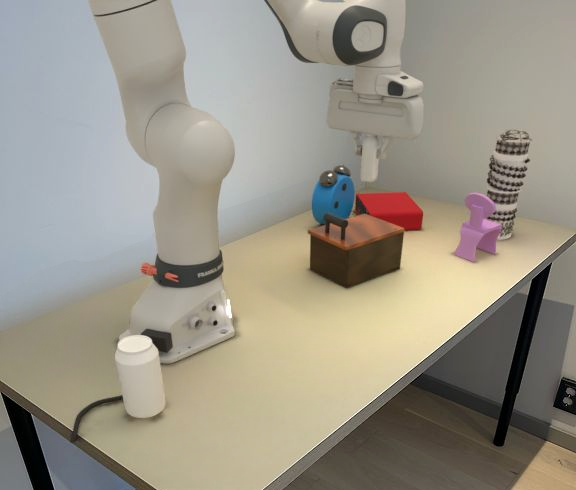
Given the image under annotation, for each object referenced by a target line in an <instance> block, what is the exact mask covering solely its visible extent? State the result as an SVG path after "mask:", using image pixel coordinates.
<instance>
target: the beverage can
mask: <svg viewBox="0 0 576 490" xmlns="http://www.w3.org/2000/svg"><path fill="white" fill-rule="evenodd" d="M116 346H117V348H116V351H115V354H114V360H115V366H116V371H117V376H118V380H119V385H120V391H121V395H122V396H123V400H122V401H123V405H124V409H125V411H126V413H127V415H129V416H131V417H133V418H138V419H149V418H154V417H155V416H156V415H158V414H160V413H162V411H163V410H165V408H166V403H167V402H166V393H165V388H164V380H163V374H162V366H161V363H160V359H159V353H158V349H157V348H156V346H155V345H154V344H153V343H152V340H151V338H149V337H147V336H144V335H132V336H128V337H125V338H123V339H122V340H120V341H119V340H118V342H117V345H116Z"/></svg>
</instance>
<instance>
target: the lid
mask: <svg viewBox="0 0 576 490" xmlns="http://www.w3.org/2000/svg"><path fill="white" fill-rule="evenodd" d="M323 219H324V221H325V224H322V225H321V226H320V227H319V226H316V227H314V228H310V229H307V234H308V235H313V236H315V237H317V238H319V239H322V240H324V241H326V242H328V243H331V244H333V245H335V246H337V247H340V248H342V249H344V250H349V249H352V248H355V247H359V246H362V245H365V244H368V243H371V242H374V241H377V240H380V239H383V238H386V237H389V236H392V235H395V234H399V233H402V232H404V233H405V230H404V229H405V228H402V227H400V226H397V225H394V224H392V223H389V222H386V221H383V220H381V219H378V218H375V217H373V216H370V215H367V214H362V215H358V214H357V215H355V216H351V217H349V218H348V219H342V218H340V217H337V216H335V215H332V214H330V213H325V214H324V216H323Z"/></svg>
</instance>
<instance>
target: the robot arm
mask: <svg viewBox="0 0 576 490" xmlns="http://www.w3.org/2000/svg"><path fill="white" fill-rule="evenodd" d="M263 1H264V2H265V4H266V6H267V7H268V8H269V10H270V11H271V13H272V14H273V16H274V17H275V18H276V20H277V21H278V24H279V26H280V28H281V30H282V32H283V35H284V39H285V41H286V43H287V47H288V48H289V50H290V52H291V54H292V55H293V56H294V58H295V59H297V60H298V61H301V62H302V63H305V64H325V65H331V66H343V67H352V66H353V79H350V78H349V79H348V78H347V79H345V78H340V77H339V78H336V79H335V80H333V81H332V82H331V84H330V86H329V93H328V94H329V100H328V106H327V111H326V113H327V114H326V124H327V126H328V128H329V129H331V130H339V131H345V132H346V131H347V132H350V136H349V137H350V139H351V142H352V144H353V146H354V155H355V156H359V157H362V144H363V143H362V141H361V138H360V137H361V136H362V134H365V135H366V134H373V135H378V136H380V137H382V139H381V140H382V143H383V144H382V146H381V147H380V149H378V150H377V155H376V158H377V159H379V160H381V161H382V160H386V159H387V157H388V150H389V148H390V147H391V145H392V144H393V142H394V139H402V140H408V141H412V140H415V139H417V138H419V137H420V136H421V134H422V132H423V128H424V117H425V116H424V115H425V105H424V101H423V98H422V97H421V96H420V94H422V93H423V91H424V83H423V81H421V80H419V79H417V78H415V77H414V76H411V75H409V74H407V73H406V72H404V71H402V70H401V69H402V58H401V48H402V44H403V41H404V38H405V30H406V29H405V28H406V13H407V12H406V11H407V7H406V6H407V5H406V4H407V3H406V0H341V2H339V1H338V2H336V1H335V2H333V1H321V0H263ZM87 3H88V5H89V8H90V10H91V13H92V16H93V20H94V21H95V24H96V26H97V29H98V32H99V34H100V37H101V40H102V42H103V45H104V48H105V51H106V53H107V56H108V58H109V61H110V64H111V66H112V69H113V73H114V76H115V80H116V81H117V82H116V83H117V87H118V91H119V95H120V101H121V106H122V110H123V115H124V118H125V135H126V138H127V141H128V143H129V144H130V146H131V147H132V150H134V151H135V153H136V154H137V155H138V157H139V158H140V159H141V160H142V161H143V162H145V163H146V164H148V165H150V166H151V167H153V168H155V169H156V171H157V174H158V181H159V182H158V183H159V184H158V185H159V186H158V196H157V204H156V206H155V207H154V209H153V211H152V220H153V227H154V235H155V241H156V243H155V244H156V247H157V248H156V249H157V254H156V257H155V262H154V264H150V263H148V262H144V263H142V264H141V266H140V271H141V273H142V274H143V275H146V276H149V277H152V280H151V282H150V283H149V284H148V286H147V287H146V289H145V290H144V292H142V294H141V295H140V297H138V300H137V301H136V302H135V303H134V305H133V306H132V308H131V309H130V313H129V328H128V329H126V330H125V331H123V332H122V333H121V334H119V336H118V342H119V341H120V340H122V339H123V338H125V337H128V336H132V335H144V336H147V337H149V338H151V340H152V343H153V344H154V345H155V346H156V348H157V349H158V353H159V359H160V364H173V363H176V362H178V361H181V360H183V359H185V358H187V357H190V356H192V355H195V354H197V353H199V352H202V351H203V350H206V349H209V348H210V347H213V346H216V345H217V344H219V343H220V344H221V343H222V342H224V341H226V340H228V339H231V338H233V337H235V336H236V330H235V327H234V316H233V315H232V311H231V304H230V303H231V302H230V299H228V295H227V292H226V288H225V284H224V278H223V273H224V269H225V268H224V264H225V262H224V259H223V252H222V250H221V249H220V236H219V223H218V222H219V219H218V212H219V210H218V208H219V200H220V194H221V188H222V185H223V181H224V179H225V178H226V177H227V176H228V175H229V174H230V171H232V167H233V165H234V162H235V156H236V149H235V148H236V147H235V143H234V138H233V137H232V135H231V133H230V132H229V130H228V129H227V127H225V126H224V125H223V123H221V122H220V120H218V119H217V118H216V117H214V116H213V115H212V114H211V113H209V112H207V111H205V110H201V109H199V108H195V107H193V106H192V105H191V103H190V101H189V99H188V95H187V91H186V84H185V71H184V69H185V66H184V65H185V62H186V59H187V58H186V57H187V52H186V51H187V50H186V46H185V43H184V39H183V36H182V33H181V30H180V26H179V22H178V19H177V16H176V13H175V9H174V6H173V3H172V0H87ZM119 401H123V396H122V394H121V395H117V396H111V397H107V398H102V399H99V400H95V401H94V402H91V403H90V404H88V405H87V406H85V407H83V408H82V409H81V410H80V411H79V412H78V414H77V415H76V417H75V419H74V424H73V428H72V433H71V438H70V443H71V444H74V443H76V442H77V438H78V434H79V428H80V426H81V425H80V424H81V422H82V419H83V417H84V416H85V415H86V414H87V413H88V412H90V411H91V410H92V409H94V408H96V407H99V406H101V405H105V404H109V403H114V402H119Z"/></svg>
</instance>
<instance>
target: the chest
mask: <svg viewBox="0 0 576 490" xmlns="http://www.w3.org/2000/svg"><path fill="white" fill-rule="evenodd" d="M309 235H310V234H309ZM404 236H405V231H404V232H402V233H399V234H395V235H392V236H389V237H386V238H383V239H380V240H377V241H374V242H371V243H368V244H365V245H362V246H359V247H355V248H352V249H349V250H344V249H342V248H340V247H337V246H335V245H333V244H331V243H328V242H326V241H324V240H322V239H319V238H317V237H315V236H313V235H310V236H309V238H310V242H309V271H312V272H314V273H316V274H318V275H319V276H321V277H324V278H326V279H327V280H330V281H331V282H333V283H335V284H337V285H339V286H342V287H344V288H345V289H349V288H352V287H355V286H358V285H360V284H362V283H366V282H369V281H371V280H373V279H376V278H379V277H382V276H384V275H387V274H390V273H393V272H395V271H398V270H400V269H401V264H402V263H401V262H402V255H403V246H404V245H403V244H404Z"/></svg>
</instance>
